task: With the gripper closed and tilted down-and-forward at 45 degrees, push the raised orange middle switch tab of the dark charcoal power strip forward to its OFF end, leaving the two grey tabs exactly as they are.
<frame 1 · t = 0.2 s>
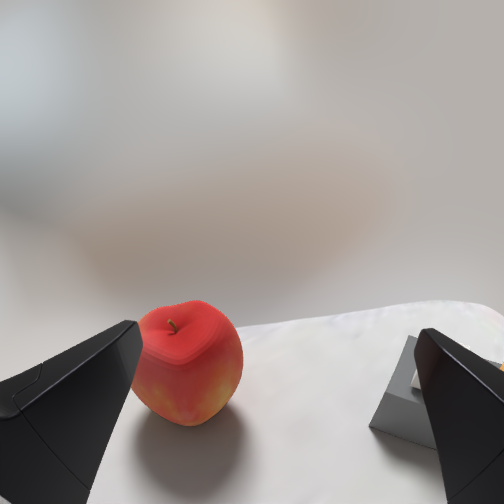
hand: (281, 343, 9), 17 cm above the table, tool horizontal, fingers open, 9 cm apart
power strip: (472, 425, 18), on the table
tab 3: (440, 367, 18), point 7 cm above the table, slide at 0.0 cm
apple: (192, 404, 25), on the table
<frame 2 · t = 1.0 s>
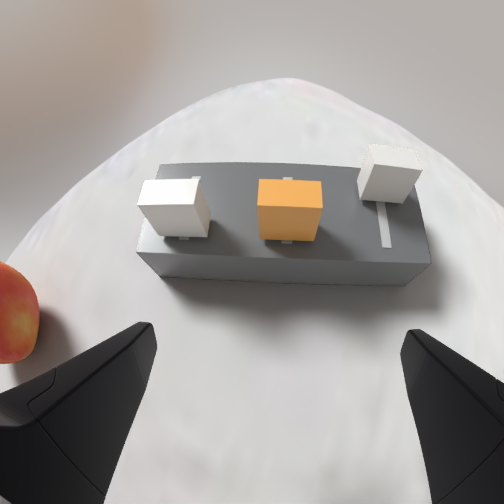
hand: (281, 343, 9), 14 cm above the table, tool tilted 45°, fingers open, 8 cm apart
tab 1: (387, 175, 19), point 7 cm above the table, slide at 3.5 cm
power strip: (285, 238, 25), on the table
tab 3: (176, 209, 18), point 7 cm above the table, slide at 0.0 cm
apple: (29, 327, 23), on the table
tab 2: (288, 212, 18), point 7 cm above the table, slide at 0.0 cm
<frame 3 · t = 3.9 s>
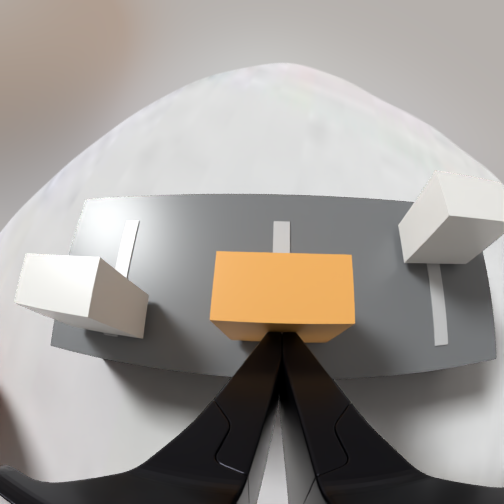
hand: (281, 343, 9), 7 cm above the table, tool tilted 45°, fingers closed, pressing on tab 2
tab 1: (454, 223, 10), point 7 cm above the table, slide at 3.5 cm
power strip: (278, 306, 17), on the table
tab 3: (84, 299, 10), point 7 cm above the table, slide at 0.0 cm
tab 2: (281, 305, 9), point 7 cm above the table, slide at 0.3 cm, touching gripper
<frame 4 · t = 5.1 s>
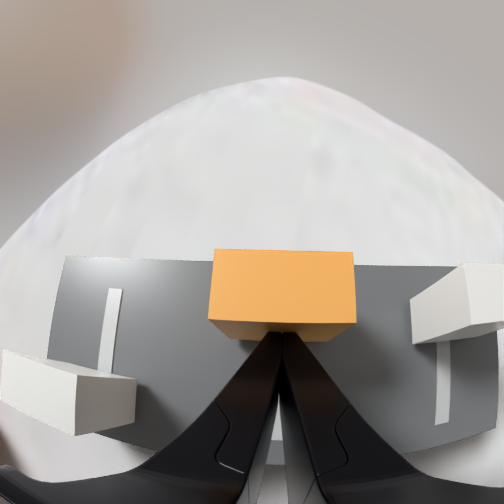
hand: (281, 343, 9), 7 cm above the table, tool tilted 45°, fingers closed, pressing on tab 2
tab 1: (472, 307, 8), point 7 cm above the table, slide at 3.5 cm
power strip: (275, 367, 15), on the table
tab 3: (69, 391, 8), point 7 cm above the table, slide at 0.0 cm
tab 2: (281, 304, 9), point 7 cm above the table, slide at 3.7 cm, touching gripper
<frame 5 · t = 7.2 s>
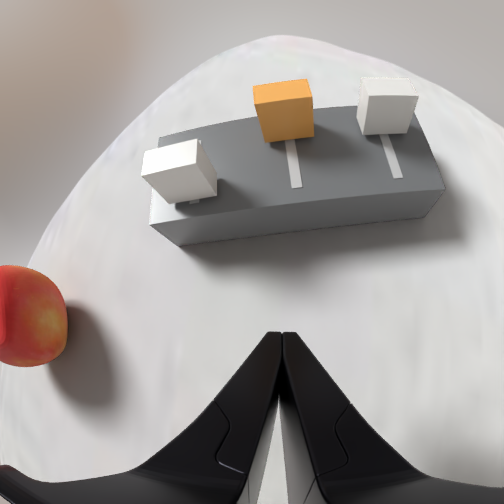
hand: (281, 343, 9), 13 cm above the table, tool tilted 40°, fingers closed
tab 1: (385, 106, 17), point 7 cm above the table, slide at 3.5 cm
power strip: (296, 186, 25), on the table
tab 3: (181, 173, 18), point 7 cm above the table, slide at 0.0 cm
apple: (59, 325, 26), on the table
tab 2: (285, 111, 18), point 7 cm above the table, slide at 3.7 cm
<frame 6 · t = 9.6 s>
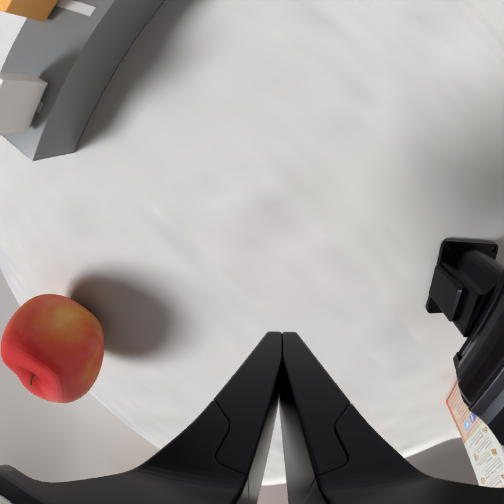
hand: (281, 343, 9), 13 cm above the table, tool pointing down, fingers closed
cracker box: (492, 374, 25), on the table
power strip: (103, 21, 15), on the table
tab 3: (9, 103, 11), point 7 cm above the table, slide at 0.0 cm
apple: (83, 317, 26), on the table
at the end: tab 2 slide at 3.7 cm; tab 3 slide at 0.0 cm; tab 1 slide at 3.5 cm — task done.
